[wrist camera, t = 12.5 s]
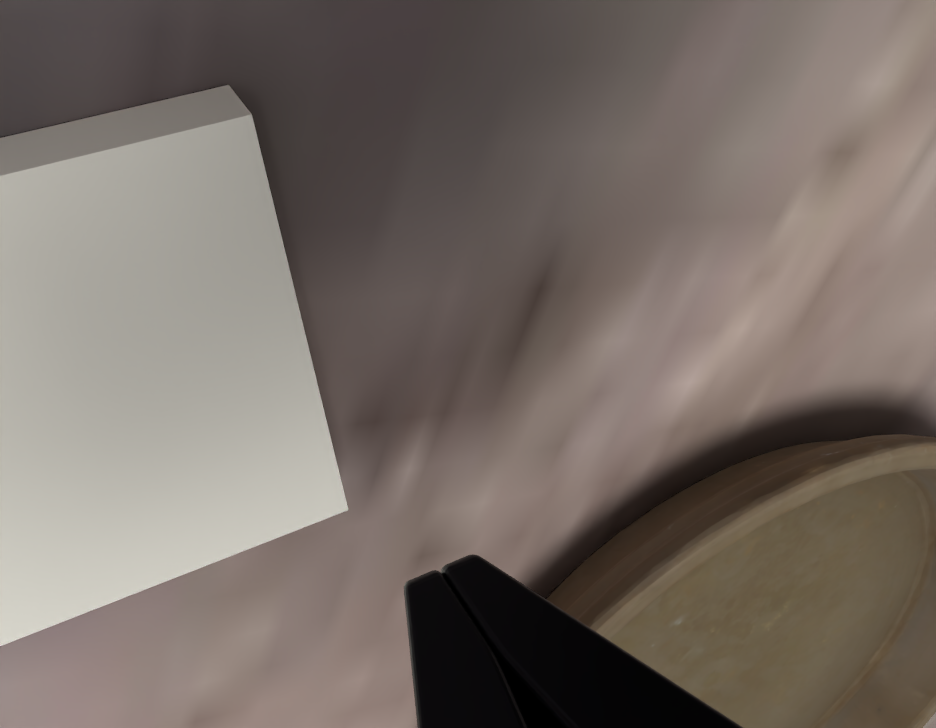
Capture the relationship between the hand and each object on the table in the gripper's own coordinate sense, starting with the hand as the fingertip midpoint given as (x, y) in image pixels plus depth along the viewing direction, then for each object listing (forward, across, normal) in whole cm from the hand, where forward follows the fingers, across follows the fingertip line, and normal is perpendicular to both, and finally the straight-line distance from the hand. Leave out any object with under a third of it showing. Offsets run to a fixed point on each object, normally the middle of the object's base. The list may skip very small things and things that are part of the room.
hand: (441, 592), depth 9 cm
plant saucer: (+14, -16, +30) cm, 37 cm away
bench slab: (+13, +4, +4) cm, 14 cm away
